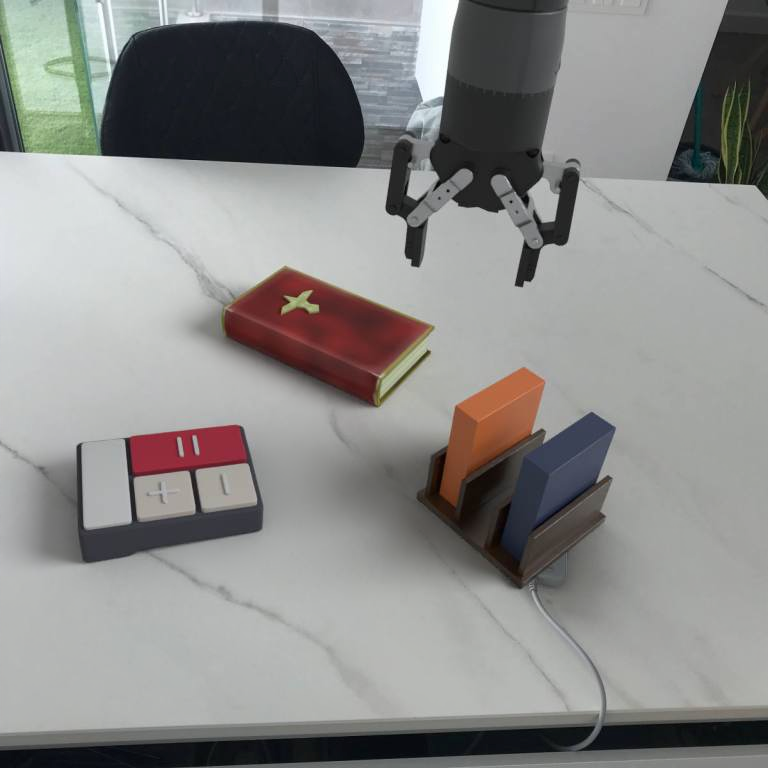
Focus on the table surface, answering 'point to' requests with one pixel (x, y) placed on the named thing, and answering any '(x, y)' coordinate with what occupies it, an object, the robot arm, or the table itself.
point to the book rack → (491, 507)
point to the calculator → (165, 490)
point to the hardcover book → (329, 333)
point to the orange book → (490, 426)
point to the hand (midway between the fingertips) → (468, 272)
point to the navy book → (555, 478)
